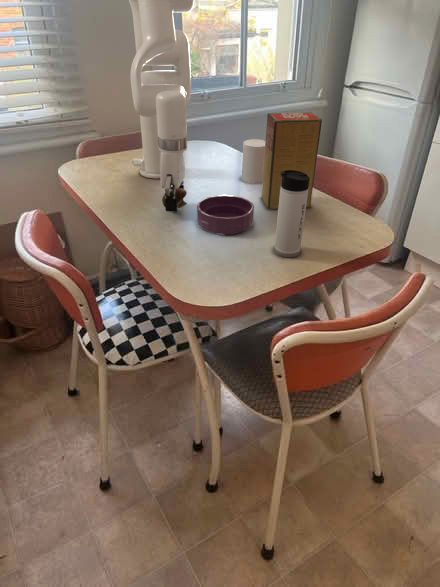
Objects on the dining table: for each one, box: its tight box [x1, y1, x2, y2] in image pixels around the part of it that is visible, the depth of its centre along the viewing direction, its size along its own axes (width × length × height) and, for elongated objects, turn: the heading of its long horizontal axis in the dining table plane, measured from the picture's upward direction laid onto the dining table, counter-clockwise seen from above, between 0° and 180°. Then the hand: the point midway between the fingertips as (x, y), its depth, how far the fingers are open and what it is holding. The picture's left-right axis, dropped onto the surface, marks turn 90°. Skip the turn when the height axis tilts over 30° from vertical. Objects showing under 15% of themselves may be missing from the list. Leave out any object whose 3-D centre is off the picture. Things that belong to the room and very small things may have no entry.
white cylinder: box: [241, 138, 266, 184], centre depth 146 cm, size 8×8×12 cm
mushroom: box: [161, 188, 188, 209], centre depth 126 cm, size 8×8×6 cm
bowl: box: [196, 194, 255, 235], centre depth 120 cm, size 15×15×5 cm
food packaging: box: [260, 111, 323, 210], centre depth 126 cm, size 13×9×25 cm
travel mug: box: [273, 170, 310, 258], centre depth 103 cm, size 6×7×20 cm
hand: (175, 204), depth 126 cm, fingers closed on mushroom, 8 cm apart
